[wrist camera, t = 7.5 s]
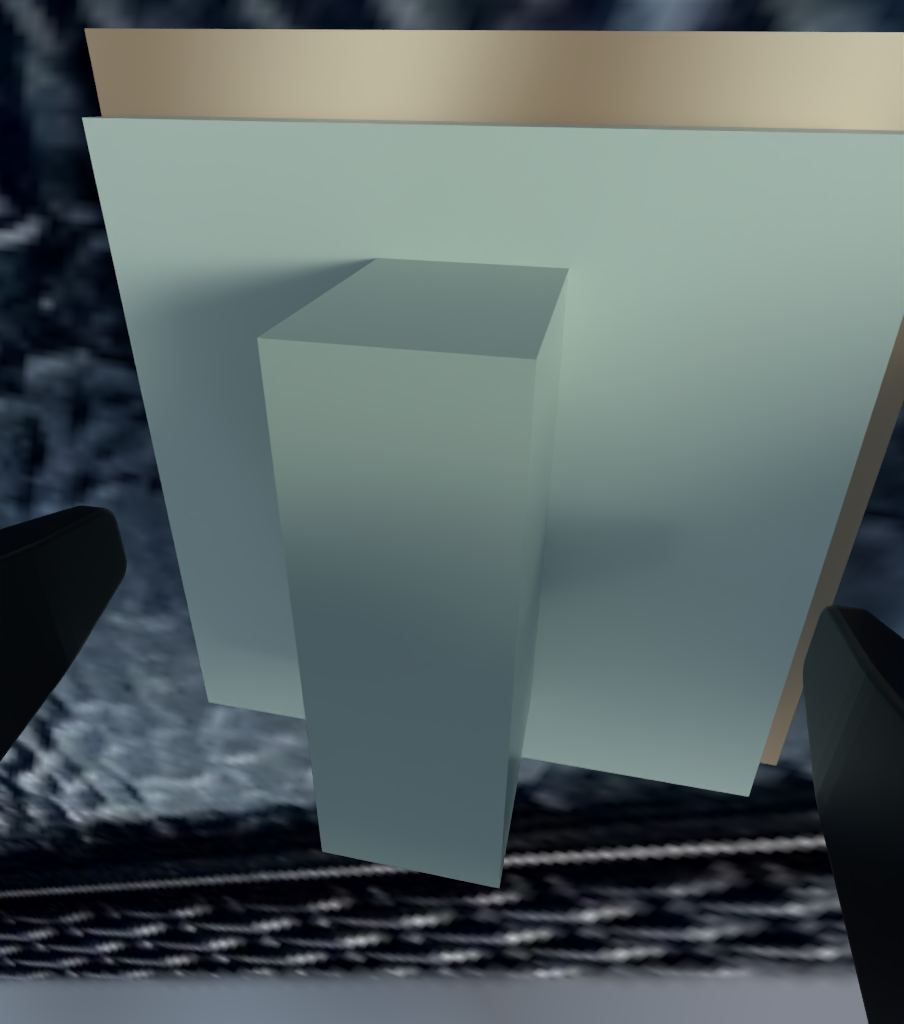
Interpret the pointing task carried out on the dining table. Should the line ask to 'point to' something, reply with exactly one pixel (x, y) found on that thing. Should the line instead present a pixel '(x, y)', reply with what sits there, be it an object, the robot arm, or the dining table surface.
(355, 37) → the board
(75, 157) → the dining table surface
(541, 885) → the dining table surface
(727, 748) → the lid
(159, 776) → the dining table surface
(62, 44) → the dining table surface
